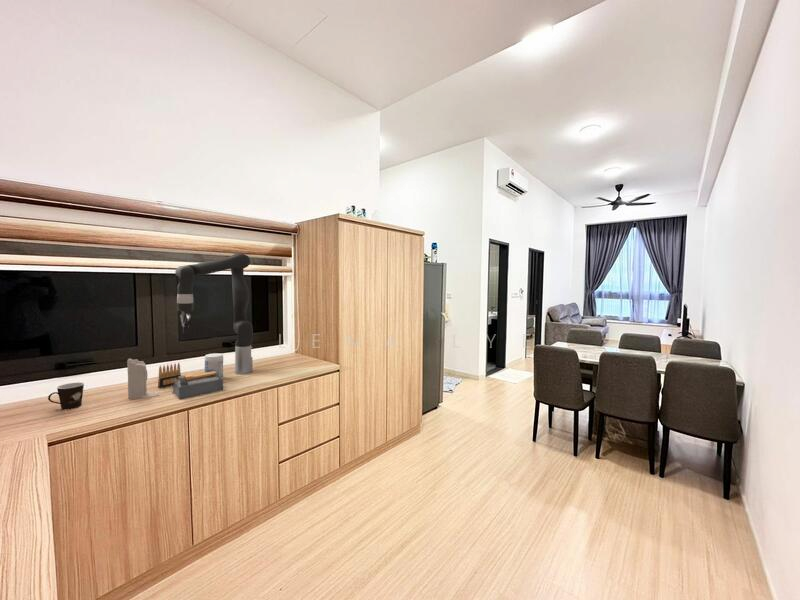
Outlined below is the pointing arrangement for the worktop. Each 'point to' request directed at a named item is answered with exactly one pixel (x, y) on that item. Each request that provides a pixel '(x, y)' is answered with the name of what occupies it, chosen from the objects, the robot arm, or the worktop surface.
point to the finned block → (197, 385)
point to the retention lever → (199, 375)
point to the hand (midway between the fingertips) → (185, 333)
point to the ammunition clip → (168, 375)
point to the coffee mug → (69, 395)
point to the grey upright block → (138, 380)
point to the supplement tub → (214, 363)
